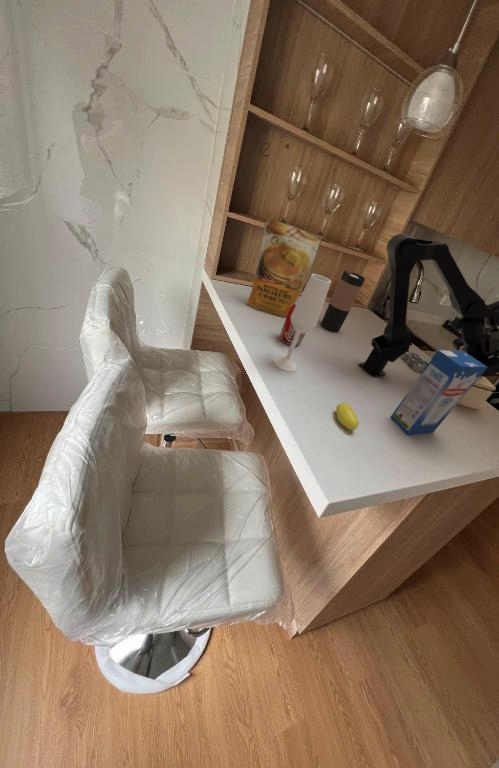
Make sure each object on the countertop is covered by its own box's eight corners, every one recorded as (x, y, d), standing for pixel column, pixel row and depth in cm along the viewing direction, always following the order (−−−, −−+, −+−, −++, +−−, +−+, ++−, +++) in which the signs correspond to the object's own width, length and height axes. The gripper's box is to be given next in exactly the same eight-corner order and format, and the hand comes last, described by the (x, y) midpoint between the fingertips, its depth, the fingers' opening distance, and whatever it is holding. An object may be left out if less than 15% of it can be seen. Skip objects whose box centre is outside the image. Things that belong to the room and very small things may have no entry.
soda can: (275, 340, 99) (289, 303, 92) (282, 332, 104) (296, 297, 98) (296, 350, 97) (312, 313, 91) (302, 342, 103) (317, 307, 97)
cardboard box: (447, 401, 99) (462, 383, 95) (431, 379, 109) (444, 362, 105) (476, 410, 100) (492, 392, 96) (458, 387, 110) (472, 371, 106)
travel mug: (335, 335, 117) (362, 281, 106) (316, 325, 119) (341, 271, 108) (342, 330, 122) (367, 278, 112) (324, 321, 125) (347, 269, 114)
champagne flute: (301, 367, 89) (340, 283, 76) (287, 373, 85) (325, 284, 71) (283, 355, 92) (317, 271, 79) (268, 359, 88) (302, 272, 74)
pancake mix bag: (243, 298, 119) (267, 216, 104) (292, 314, 121) (323, 235, 106) (241, 305, 113) (266, 219, 98) (293, 321, 115) (326, 239, 100)
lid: (463, 382, 95) (465, 380, 95) (445, 361, 105) (446, 359, 105) (494, 390, 96) (496, 388, 96) (473, 369, 106) (475, 367, 105)
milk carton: (407, 435, 78) (461, 366, 67) (389, 417, 82) (437, 349, 71) (433, 432, 82) (488, 367, 71) (415, 415, 87) (464, 351, 76)
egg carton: (430, 376, 112) (437, 366, 110) (412, 372, 110) (419, 362, 108) (414, 359, 121) (421, 349, 119) (397, 355, 119) (403, 345, 117)
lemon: (345, 411, 78) (352, 399, 76) (357, 435, 72) (366, 423, 70) (329, 409, 77) (336, 396, 75) (340, 433, 71) (348, 420, 69)
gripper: (527, 336, 83) (532, 382, 90) (487, 309, 98) (494, 350, 105) (479, 354, 86) (487, 397, 93) (447, 325, 102) (456, 363, 109)
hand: (482, 375), depth 100 cm, fingers closed, pressing on lid
